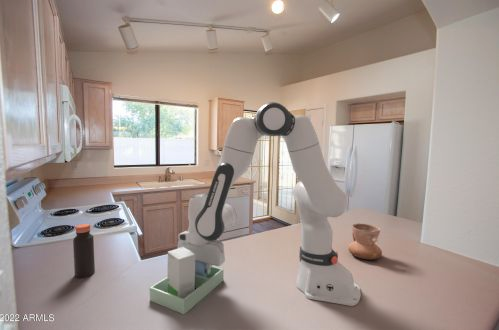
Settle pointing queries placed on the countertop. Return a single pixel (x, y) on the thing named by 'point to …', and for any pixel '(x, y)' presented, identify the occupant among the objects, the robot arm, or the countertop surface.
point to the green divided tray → (192, 299)
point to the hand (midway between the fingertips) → (200, 271)
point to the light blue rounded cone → (200, 268)
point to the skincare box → (181, 272)
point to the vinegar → (83, 251)
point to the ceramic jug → (365, 242)
